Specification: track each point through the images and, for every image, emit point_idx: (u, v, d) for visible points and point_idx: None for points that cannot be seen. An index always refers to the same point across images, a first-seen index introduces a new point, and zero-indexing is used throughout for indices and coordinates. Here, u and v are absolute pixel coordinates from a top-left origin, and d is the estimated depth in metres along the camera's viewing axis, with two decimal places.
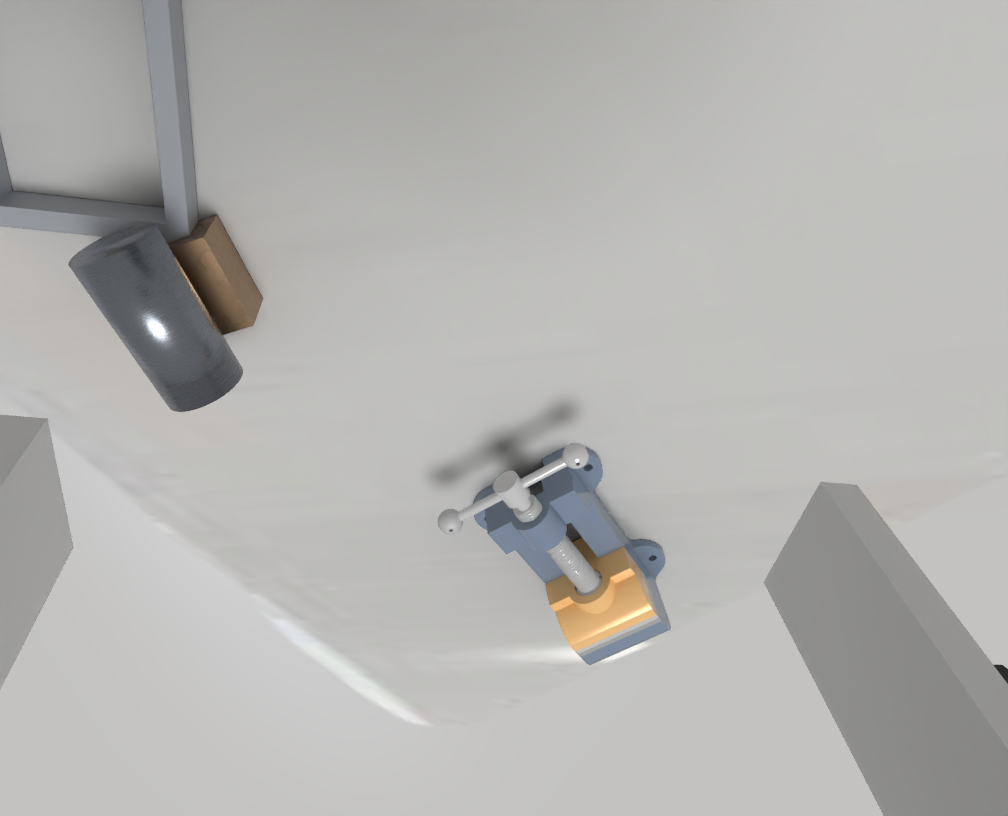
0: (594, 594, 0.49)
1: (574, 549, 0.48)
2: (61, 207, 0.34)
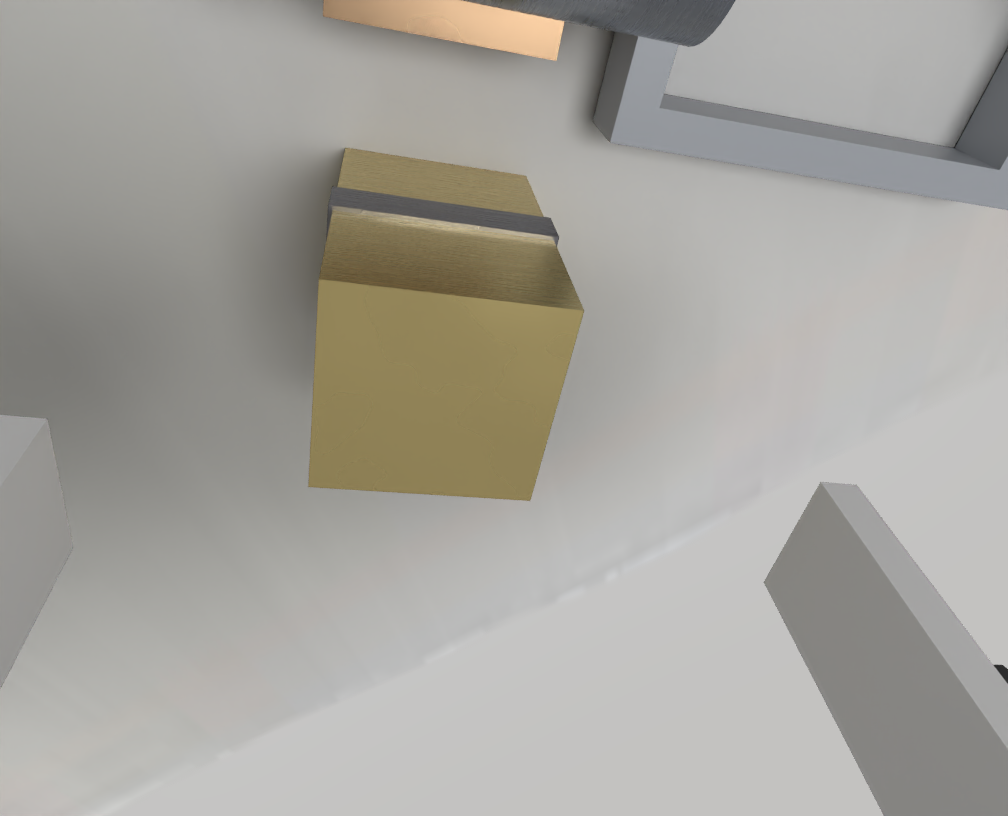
0: None
1: None
2: None
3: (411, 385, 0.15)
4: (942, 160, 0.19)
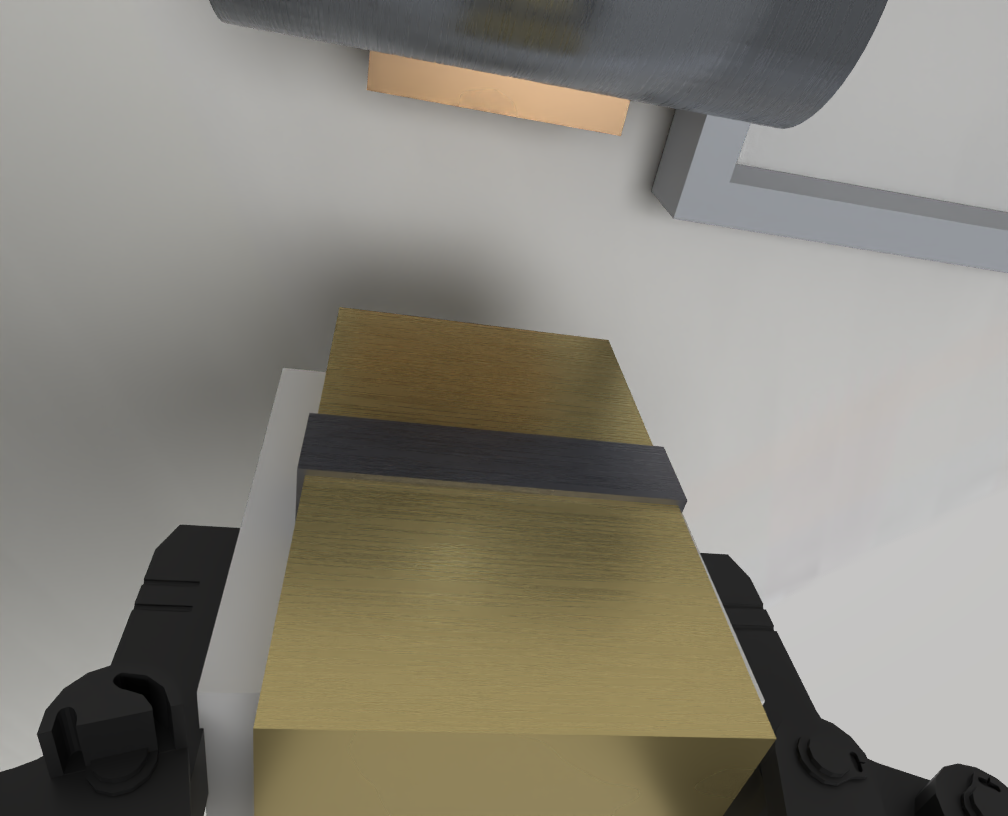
0: None
1: None
2: None
3: None
4: None
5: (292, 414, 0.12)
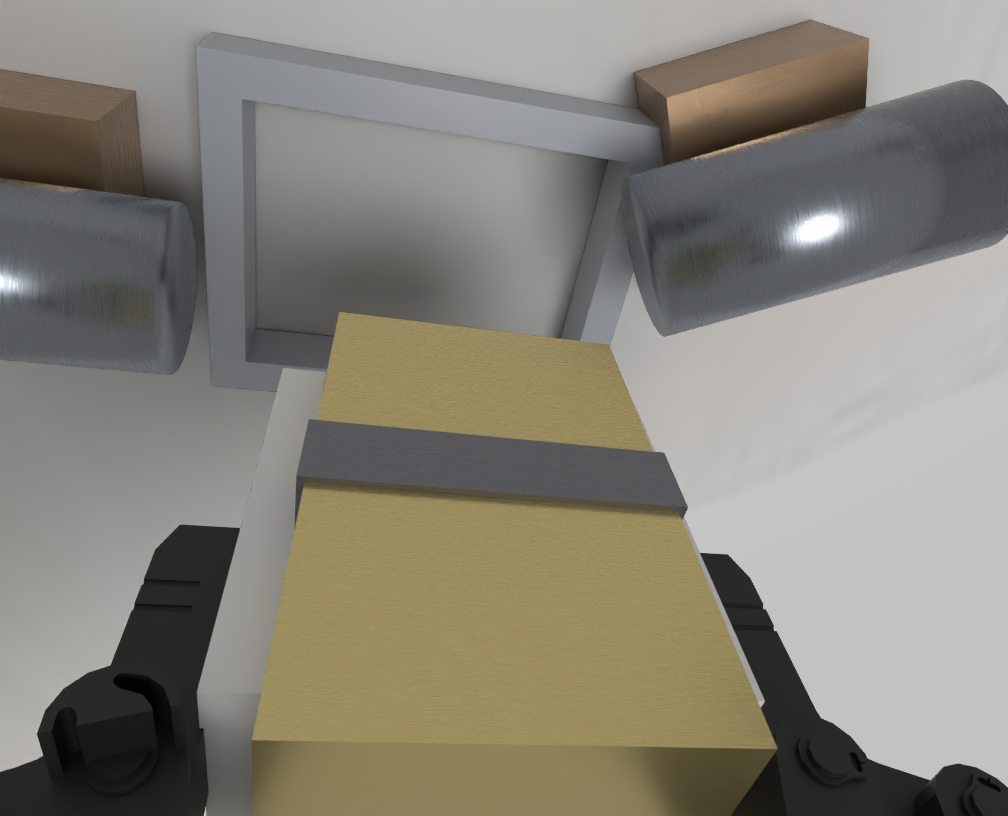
0: None
1: None
2: (582, 310, 0.23)
3: None
4: None
5: (292, 414, 0.12)
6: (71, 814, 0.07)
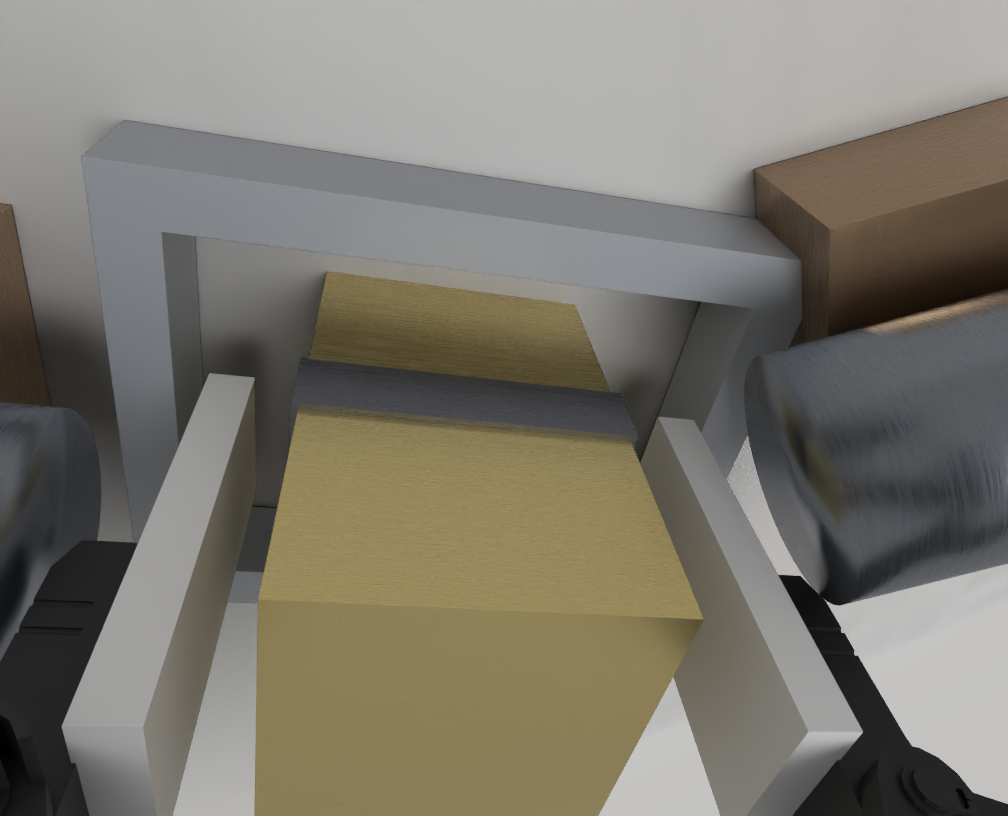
0: None
1: None
2: None
3: (415, 719, 0.09)
4: None
5: (211, 422, 0.11)
6: None
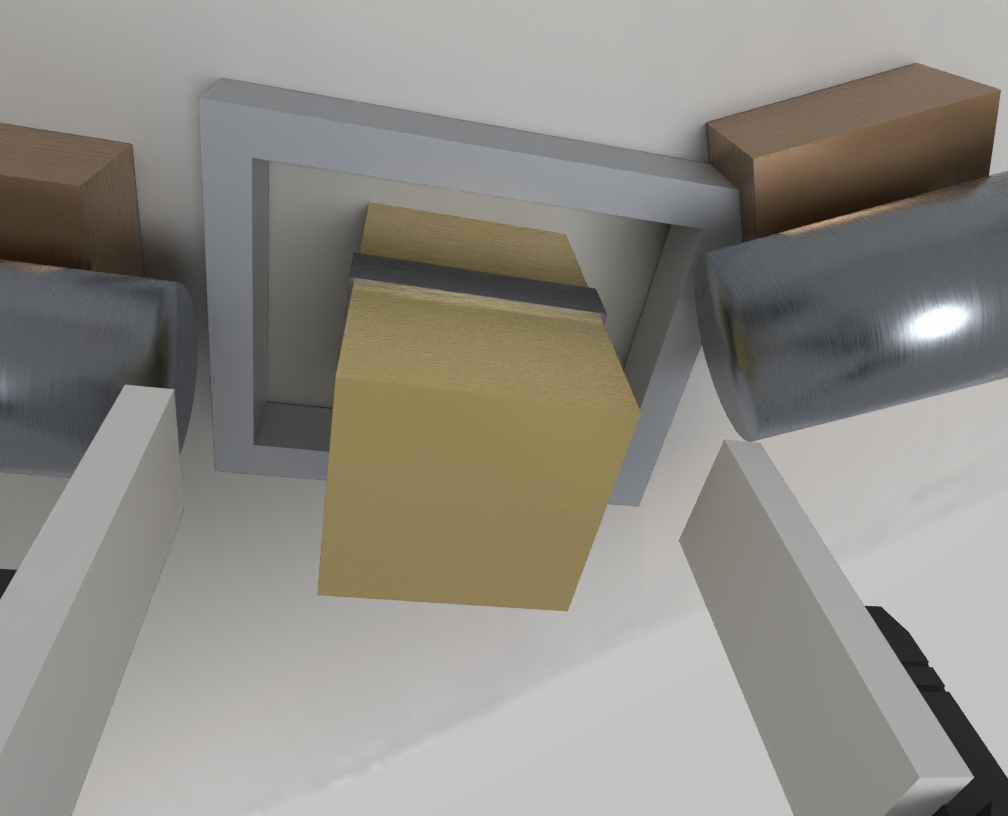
0: None
1: None
2: (637, 388, 0.20)
3: (437, 490, 0.13)
4: None
5: (119, 438, 0.11)
6: None
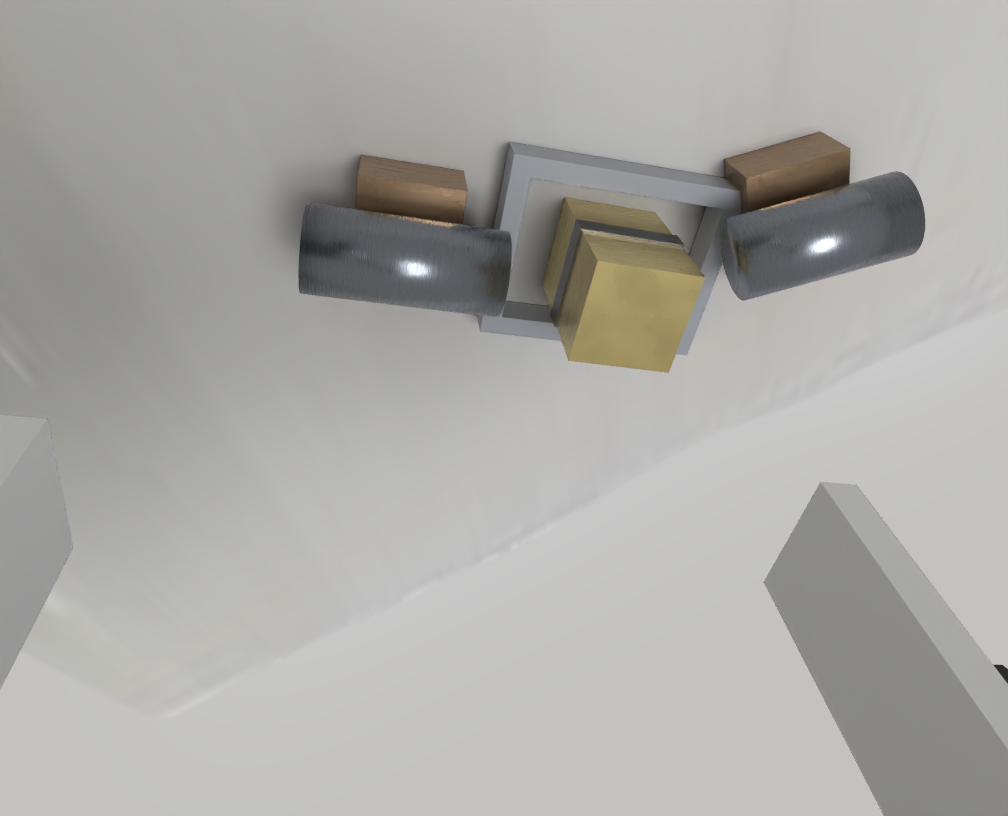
0: None
1: None
2: None
3: (625, 310, 0.32)
4: None
5: None
6: None
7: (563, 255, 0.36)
